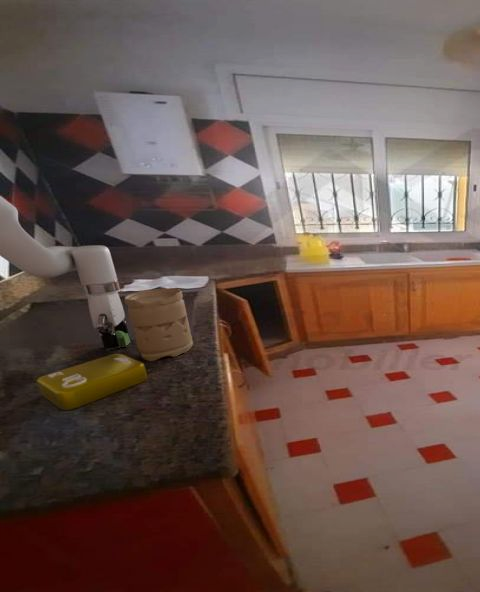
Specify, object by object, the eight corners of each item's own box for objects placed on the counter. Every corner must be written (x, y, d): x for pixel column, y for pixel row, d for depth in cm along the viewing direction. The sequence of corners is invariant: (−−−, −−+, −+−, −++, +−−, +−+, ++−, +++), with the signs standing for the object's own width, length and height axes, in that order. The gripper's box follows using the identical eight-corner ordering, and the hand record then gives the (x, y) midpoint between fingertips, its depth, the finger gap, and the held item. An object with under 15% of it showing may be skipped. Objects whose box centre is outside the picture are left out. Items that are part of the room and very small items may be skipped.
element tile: (151, 379, 79) (146, 362, 77) (65, 413, 66) (58, 393, 64) (122, 366, 85) (118, 350, 84) (39, 395, 72) (32, 376, 71)
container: (198, 350, 95) (186, 293, 90) (144, 365, 86) (127, 302, 81) (187, 339, 103) (175, 286, 98) (136, 352, 94) (120, 294, 89)
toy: (105, 350, 95) (101, 335, 93) (110, 345, 98) (105, 331, 97) (126, 347, 97) (122, 332, 96) (130, 342, 100) (126, 328, 99)
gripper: (95, 283, 98) (110, 334, 103) (70, 296, 83) (90, 355, 88) (127, 281, 101) (140, 330, 106) (108, 293, 87) (125, 349, 92)
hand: (117, 341), depth 97 cm, fingers open, 9 cm apart
